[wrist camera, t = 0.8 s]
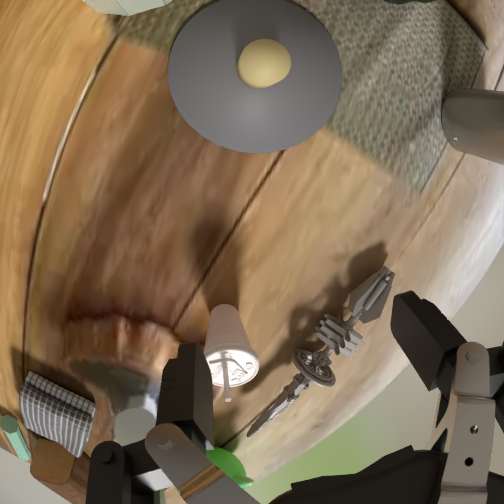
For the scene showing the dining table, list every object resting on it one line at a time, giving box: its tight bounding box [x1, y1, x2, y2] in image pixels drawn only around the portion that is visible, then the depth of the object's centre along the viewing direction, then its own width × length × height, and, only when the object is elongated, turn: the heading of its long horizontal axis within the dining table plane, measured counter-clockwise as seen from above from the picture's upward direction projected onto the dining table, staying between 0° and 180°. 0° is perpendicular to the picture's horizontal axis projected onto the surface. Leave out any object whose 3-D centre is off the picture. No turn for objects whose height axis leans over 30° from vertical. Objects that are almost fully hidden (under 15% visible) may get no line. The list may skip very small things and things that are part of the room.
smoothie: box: [204, 304, 259, 402], centre depth 32 cm, size 6×6×14 cm
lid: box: [168, 0, 342, 153], centre depth 24 cm, size 18×18×6 cm
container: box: [0, 415, 31, 461], centre depth 49 cm, size 6×6×25 cm
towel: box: [19, 371, 96, 457], centre depth 41 cm, size 15×18×8 cm
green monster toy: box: [176, 447, 254, 493], centre depth 49 cm, size 18×17×15 cm
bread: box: [30, 438, 90, 504], centre depth 52 cm, size 14×34×14 cm, turn 2°
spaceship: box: [247, 266, 395, 437], centre depth 40 cm, size 8×35×8 cm
